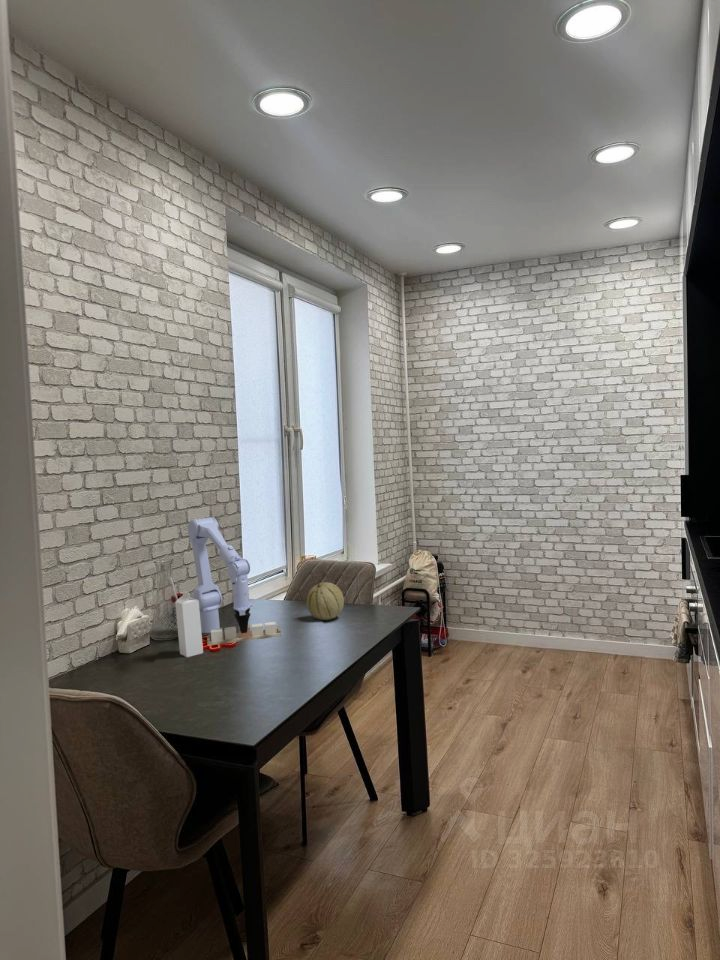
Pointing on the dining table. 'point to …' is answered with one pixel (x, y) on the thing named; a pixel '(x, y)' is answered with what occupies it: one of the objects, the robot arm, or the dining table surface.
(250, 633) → the block terracotta
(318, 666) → the dining table surface
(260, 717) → the dining table surface
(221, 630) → the cream block
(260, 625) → the cream block
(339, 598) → the cantaloupe
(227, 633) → the cream block
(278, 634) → the rack
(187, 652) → the milk
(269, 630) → the cream block
